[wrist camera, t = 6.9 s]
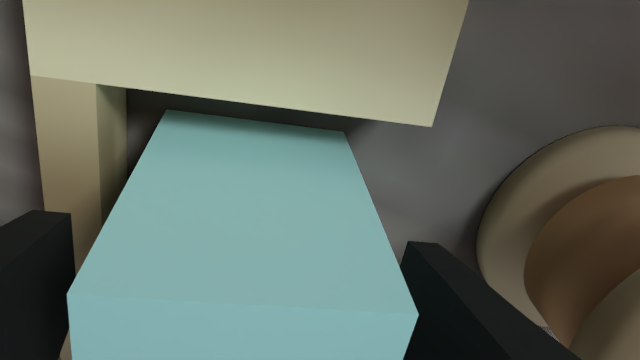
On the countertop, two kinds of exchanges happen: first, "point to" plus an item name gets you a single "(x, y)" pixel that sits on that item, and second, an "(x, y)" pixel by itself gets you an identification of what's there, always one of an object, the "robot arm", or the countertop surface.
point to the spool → (572, 241)
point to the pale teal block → (241, 252)
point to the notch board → (216, 75)
